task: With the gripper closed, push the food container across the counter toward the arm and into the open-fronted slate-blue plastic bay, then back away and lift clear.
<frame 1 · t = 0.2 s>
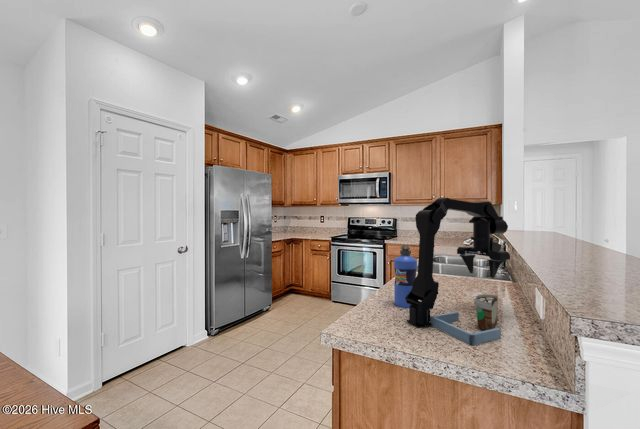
hand: (481, 275, 114), 15 cm above the worktop, tool pointing down, fingers open, 9 cm apart
slate-blue bay: (469, 330, 98), on the worktop
water bottle: (405, 305, 125), on the worktop
food container: (484, 327, 101), on the worktop
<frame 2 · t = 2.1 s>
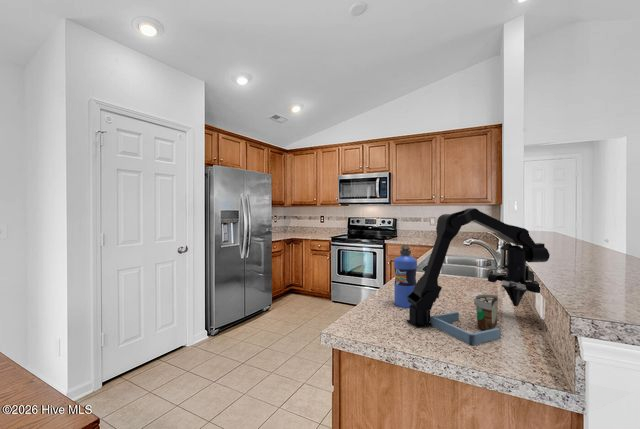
hand: (516, 306, 107), 5 cm above the worktop, tool pointing down, fingers closed
nothing on the worktop moved.
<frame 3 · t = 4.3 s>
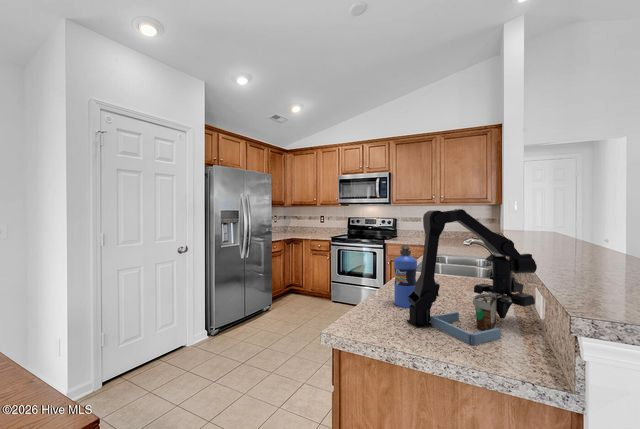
hand: (502, 318, 104), 2 cm above the worktop, tool pointing down, fingers closed
food container: (483, 327, 101), on the worktop, touching gripper
everything else where it was.
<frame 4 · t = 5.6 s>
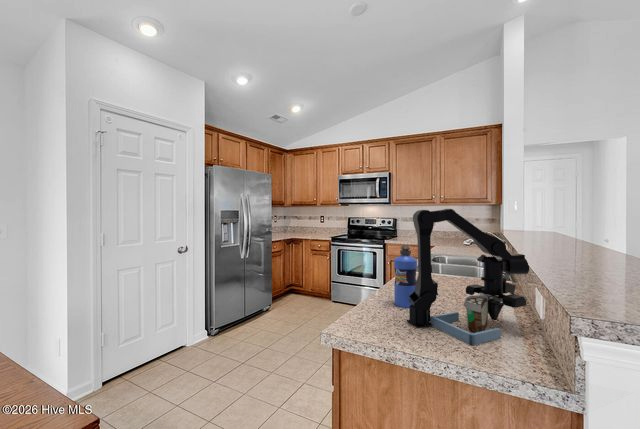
hand: (494, 319, 102), 2 cm above the worktop, tool pointing down, fingers closed
food container: (475, 329, 99), on the worktop, touching gripper
everything else where it was.
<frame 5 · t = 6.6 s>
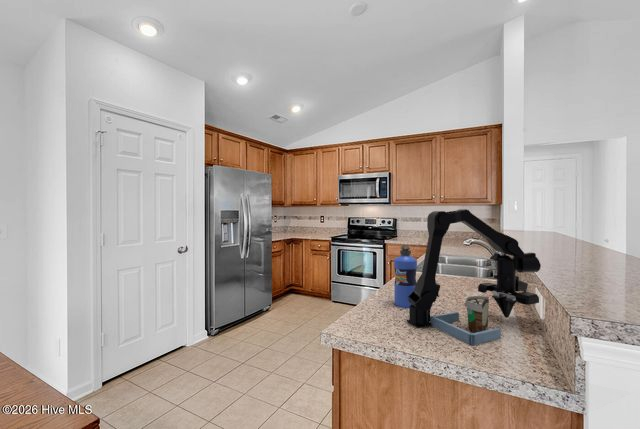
hand: (506, 317, 104), 2 cm above the worktop, tool pointing down, fingers closed
food container: (475, 329, 99), on the worktop
everything else where it was.
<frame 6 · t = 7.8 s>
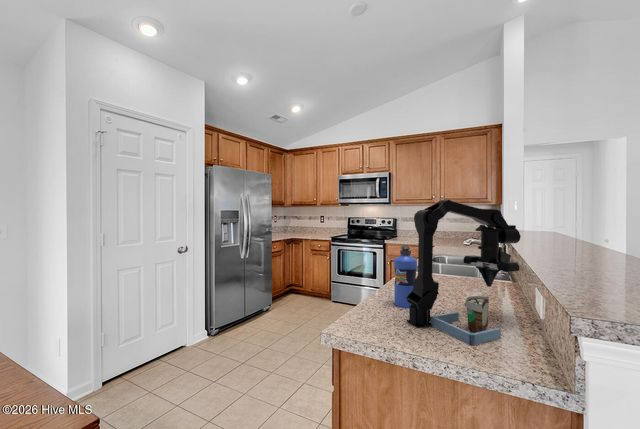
hand: (489, 286, 109), 12 cm above the worktop, tool pointing down, fingers closed
nothing on the worktop moved.
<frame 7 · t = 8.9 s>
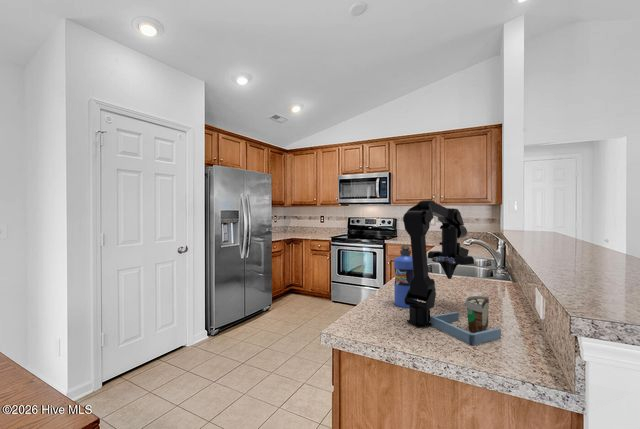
hand: (449, 278, 120), 12 cm above the worktop, tool pointing down, fingers closed
nothing on the worktop moved.
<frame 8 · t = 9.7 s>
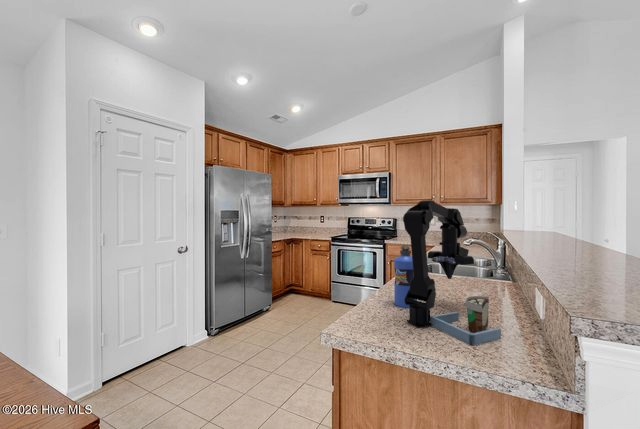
hand: (449, 278, 120), 12 cm above the worktop, tool pointing down, fingers closed
nothing on the worktop moved.
at the end: food container inside the target area on the slate-blue bay (4.4 cm from its centre), point 0.0 cm above the slate-blue bay's base; food container tilted 0°; food container moved 4.4 cm from its start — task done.
